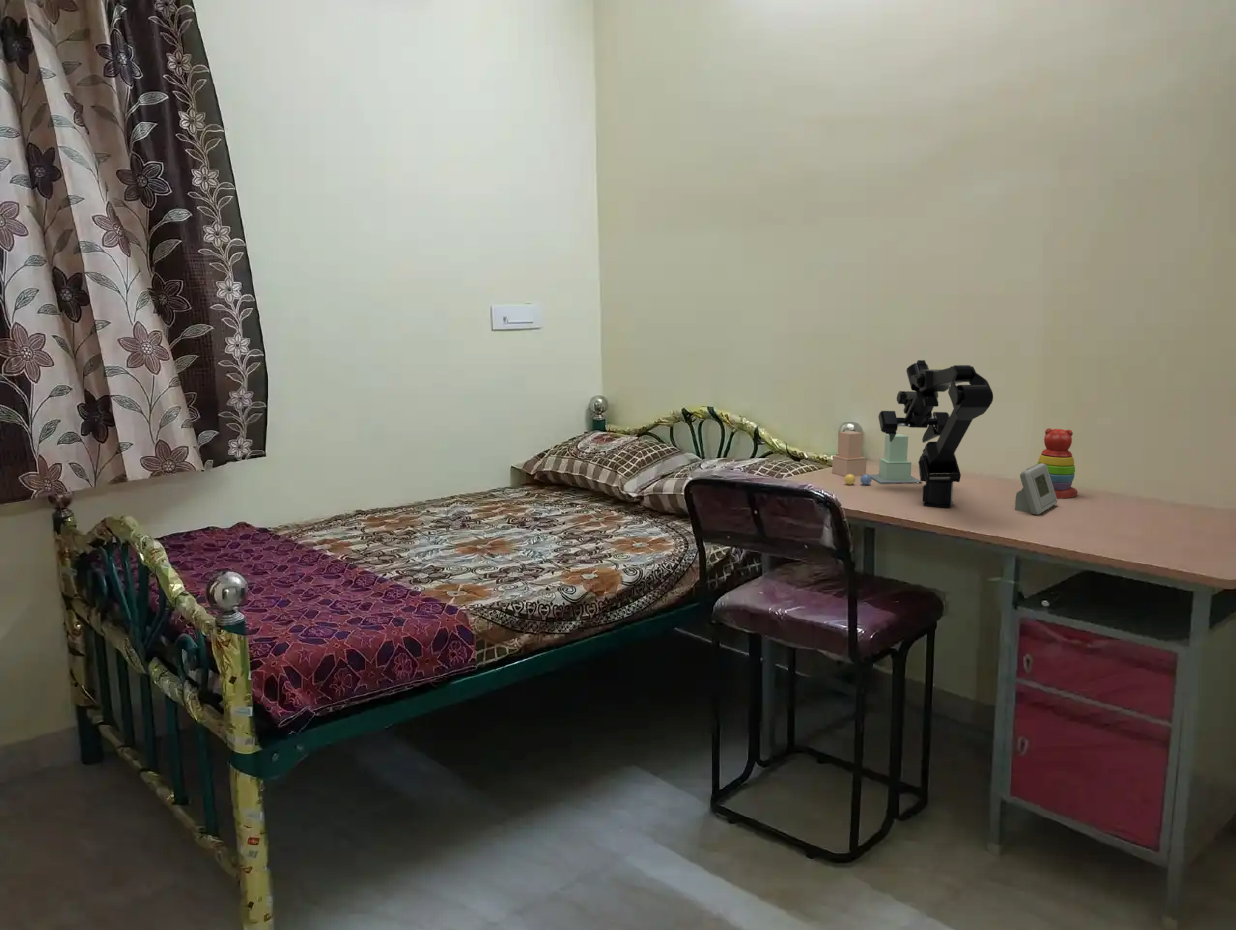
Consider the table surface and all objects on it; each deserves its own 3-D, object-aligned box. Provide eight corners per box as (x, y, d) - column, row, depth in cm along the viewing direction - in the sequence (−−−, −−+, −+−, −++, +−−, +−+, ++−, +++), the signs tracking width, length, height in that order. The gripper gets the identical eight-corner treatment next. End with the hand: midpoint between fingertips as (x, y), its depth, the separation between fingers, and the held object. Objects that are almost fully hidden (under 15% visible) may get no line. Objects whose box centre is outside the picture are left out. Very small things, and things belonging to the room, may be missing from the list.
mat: (922, 483, 264) (922, 481, 264) (880, 483, 264) (880, 482, 264) (907, 475, 276) (907, 474, 276) (867, 476, 276) (867, 474, 276)
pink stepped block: (865, 474, 278) (867, 433, 276) (846, 476, 275) (848, 434, 273) (851, 471, 284) (852, 430, 282) (832, 472, 281) (833, 431, 279)
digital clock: (1037, 517, 223) (1041, 473, 221) (1001, 510, 230) (1004, 468, 228) (1069, 507, 233) (1072, 465, 231) (1034, 501, 240) (1037, 461, 238)
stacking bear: (1078, 493, 250) (1083, 427, 247) (1073, 500, 241) (1079, 432, 238) (1034, 489, 255) (1039, 425, 252) (1028, 496, 247) (1033, 429, 244)
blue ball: (872, 473, 263) (874, 484, 262) (863, 476, 265) (865, 486, 264) (866, 472, 261) (868, 483, 260) (857, 474, 263) (858, 485, 262)
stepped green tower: (910, 480, 267) (912, 436, 265) (886, 480, 266) (888, 437, 264) (902, 475, 274) (904, 433, 271) (878, 475, 273) (880, 433, 271)
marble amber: (855, 473, 261) (858, 483, 262) (851, 471, 264) (854, 481, 265) (845, 477, 261) (848, 487, 262) (841, 475, 264) (844, 484, 265)
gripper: (951, 382, 252) (934, 419, 265) (882, 381, 252) (869, 417, 265) (959, 414, 246) (942, 450, 258) (889, 413, 245) (874, 448, 258)
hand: (906, 440), depth 260 cm, fingers open, 9 cm apart
